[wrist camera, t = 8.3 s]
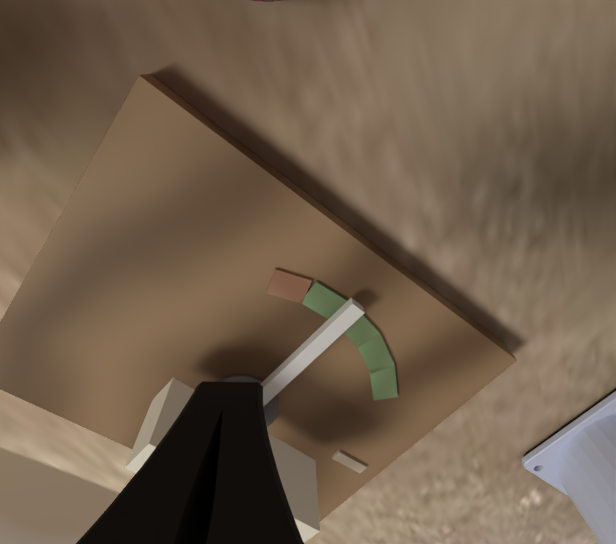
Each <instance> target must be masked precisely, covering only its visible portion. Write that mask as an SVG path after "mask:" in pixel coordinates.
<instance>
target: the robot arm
mask: <svg viewBox="0 0 616 544" xmlns="http://www.w3.org/2000/svg"><path fill="white" fill-rule="evenodd" d="M522 464H523V466H524V468H525V469H527V470H528V471H530V472H531V473H533V474H535V475H536V476H538V477H539V478H541V479H542V480H544V481H546V482H547V483H549V484H550V485H552V486H553V487H555V488H557V489H558V490H560V491H561V492H563V493H564V494H566V495H568V496H569V497H570V498H571V500H572V501H573V503H574V504H575V506H576V508H577V509H578V511H579V512H580V514H581V515H582V517H583V519H584V520H585V522H586V523H587V525H588V526H589V528H590V530H591V531H592V533H593V534H594V536H595V537H596V539H597V540H598V542H599V544H616V391H615V392H614V393H612V394H611V395H609V396H608V397H607V398H605V399H604V400H602V401H601V402H600V403H598V404H597V405H595V406H594V407H593V408H591V409H590V410H588V411H587V412H586V413H584V414H583V415H581V416H580V417H579V418H577V419H576V420H574V421H573V422H572V423H570V424H569V425H567V426H566V427H565V428H563V429H562V430H560V431H559V432H558V433H556V434H555V435H553V436H552V437H551V438H549V439H548V440H546V441H545V442H544V443H542V444H541V445H539V446H538V447H537V448H535V449H534V450H532V451H531V452H530V453H528V454H527V455H525V456H524V457H523V458H522ZM76 544H304V542H303V540H302V537H301V535H300V532H299V530H298V527H297V525H296V522H295V519H294V517H293V514H292V511H291V509H290V506H289V503H288V500H287V497H286V494H285V491H284V489H283V486H282V482H281V479H280V476H279V473H278V470H277V466H276V462H275V459H274V455H273V452H272V448H271V444H270V440H269V436H268V431H267V426H266V421H265V415H264V407H263V386H262V385H260V384H259V383H258V382H211V381H202V382H201V383H200V384H198V385H197V387H196V389H195V390H194V392H193V394H192V396H191V397H190V399H189V400H188V402H187V404H186V405H185V407H184V408H183V410H182V411H181V413H180V414H179V416H178V417H177V419H176V420H175V422H174V423H173V425H172V426H171V428H170V429H169V430H168V432H167V433H166V435H165V436H164V437H163V439H162V440H161V441H160V443H159V444H158V445H157V447H156V448H155V450H154V451H153V452H152V454H151V455H150V456H149V458H148V459H147V460H146V462H145V463H144V464H143V466H142V467H141V468H140V469H139V471H138V472H137V473H136V474H135V476H134V477H133V478H132V479H131V480H130V482H129V483H128V484H127V485H126V487H125V488H124V489H123V490H122V492H121V493H120V494H119V495H118V496H117V498H116V499H115V500H114V502H113V503H112V504H111V505H110V506H109V507H108V508H107V510H106V511H105V512H104V513H103V514H102V515H101V517H100V518H99V519H98V520H97V521H96V522H95V523H94V524H93V526H92V527H91V528H90V529H89V530H88V531H87V532H86V533H85V535H84V536H83V537H82V538H81V539H80V540H79V541H78V542H77V543H76Z"/></svg>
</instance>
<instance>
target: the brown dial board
mask: <svg viewBox="0 0 616 544" xmlns="http://www.w3.org/2000/svg"><path fill="white" fill-rule="evenodd" d="M350 298H353V299H354V300H355V301H356V302H358V303H359V304H360V305H361V306H363V308H364V312H365V313H364V314H363V315H362V316H361V317H360V318H359V319H358V320H357V321H356V322H355V323H353V324H352V325H351V326H350V327H349V328H348V329H347V330H346V331H345V332H344V333H343V334H342V335H340V336H339V337H338V338H337V339H336V340H335V341H334V342H333V343H332V344H331V345H330V346H329V347H327V348H326V349H325V350H324V351H323V352H322V353H321V354H320V355H319V356H318V357H317V358H316V359H314V360H313V361H312V362H311V363H310V364H309V365H308V366H307V367H306V368H305V369H304V370H303V371H302V372H300V373H299V374H298V375H297V376H296V377H295V378H294V379H293V380H292V381H291V382H290V383H289V384H287V385H286V386H285V387H284V388H283V389H282V390H281V391H280V392H279V393H278V394H277V395H276V396H274V397H273V398H272V399H271V400H270V401H269V402H268V403H267V404H266V405H265V408H266V426H267V431H268V433H269V434H271V435H272V436H274V437H276V438H278V439H279V440H281V441H283V442H284V443H286V444H288V445H290V446H291V447H293V448H295V449H296V450H298V451H300V452H302V453H303V454H305V455H307V456H308V457H310V458H312V459H314V460H315V461H316V478H317V494H318V511H319V522H320V521H321V520H322V519H323V518H325V517H326V516H327V515H328V514H330V513H331V512H332V511H333V510H334V509H336V508H337V507H338V506H339V505H341V504H342V503H343V502H344V501H345V500H347V499H348V498H349V497H350V496H352V495H353V494H354V493H355V492H356V491H358V490H359V489H360V488H361V487H363V486H364V485H365V484H366V483H367V482H369V481H370V480H371V479H372V478H374V477H375V476H376V475H377V474H378V473H380V472H381V471H382V470H383V469H385V468H386V467H387V466H388V465H389V464H391V463H392V462H393V461H394V460H396V459H397V458H398V457H399V456H400V455H402V454H403V453H404V452H405V451H407V450H408V449H409V448H410V447H412V446H413V445H414V444H415V443H416V442H418V441H419V440H420V439H421V438H423V437H424V436H425V435H426V434H427V433H429V432H430V431H431V430H432V429H434V428H435V427H436V426H437V425H438V424H440V423H441V422H442V421H443V420H445V419H446V418H447V417H448V416H449V415H451V414H452V413H453V412H454V411H456V410H457V409H458V408H459V407H460V406H462V405H463V404H464V403H465V402H467V401H468V400H469V399H470V398H471V397H473V396H474V395H475V394H476V393H478V392H479V391H480V390H481V389H482V388H484V387H485V386H486V385H487V384H489V383H490V382H491V381H492V380H493V379H495V378H496V377H497V376H498V375H500V374H501V373H502V372H503V371H505V370H506V369H507V368H508V367H509V366H511V365H512V364H513V363H514V362H516V361H517V360H516V358H515V357H514V356H513V354H512V353H511V352H510V350H509V349H508V348H507V346H506V345H505V344H503V343H502V342H501V341H500V340H498V339H497V338H496V337H494V336H493V335H492V334H490V333H489V332H488V331H486V330H485V329H484V328H482V327H481V326H480V325H479V324H477V323H476V322H475V321H473V320H472V319H471V318H469V317H468V316H467V315H465V314H464V313H463V312H461V311H460V310H459V309H457V308H456V307H455V306H454V305H452V304H451V303H450V302H448V301H447V300H446V299H444V298H443V297H442V296H440V295H439V294H438V293H436V292H435V291H434V290H433V289H431V288H430V287H429V286H427V285H426V284H425V283H423V282H422V281H421V280H419V279H418V278H417V277H415V276H414V275H413V274H412V273H410V272H409V271H408V270H406V269H405V268H404V267H402V266H401V265H400V264H398V263H397V262H396V261H394V260H393V259H392V258H391V257H389V256H388V255H387V254H385V253H384V252H383V251H381V250H380V249H379V248H377V247H376V246H375V245H373V244H372V243H371V242H370V241H368V240H367V239H366V238H364V237H363V236H362V235H360V234H359V233H358V232H356V231H355V230H354V229H352V228H351V227H350V226H348V225H347V224H346V223H345V222H343V221H342V220H341V219H339V218H338V217H337V216H335V215H334V214H333V213H331V212H330V211H329V210H327V209H326V208H325V207H324V206H322V205H321V204H320V203H318V202H317V201H316V200H314V199H313V198H312V197H310V196H309V195H308V194H306V193H305V192H304V191H303V190H301V189H300V188H299V187H297V186H296V185H295V184H293V183H292V182H291V181H289V180H288V179H287V178H285V177H284V176H283V175H282V174H280V173H279V172H278V171H276V170H275V169H274V168H272V167H271V166H270V165H268V164H267V163H266V162H264V161H263V160H262V159H261V158H259V157H258V156H257V155H255V154H254V153H253V152H251V151H250V150H249V149H247V148H246V147H245V146H243V145H242V144H241V143H239V142H238V141H237V140H236V139H234V138H233V137H232V136H230V135H229V134H228V133H226V132H225V131H224V130H222V129H221V128H220V127H218V126H217V125H216V124H215V123H213V122H212V121H211V120H209V119H208V118H207V117H205V116H204V115H203V114H201V113H200V112H199V111H197V110H196V109H195V108H194V107H192V106H191V105H190V104H188V103H187V102H186V101H184V100H183V99H182V98H180V97H179V96H178V95H176V94H175V93H174V92H173V91H171V90H170V89H169V88H167V87H166V86H165V85H163V84H162V83H161V82H159V81H158V80H157V79H155V78H154V77H153V76H152V75H150V74H146V75H139V76H138V78H137V80H136V81H135V83H134V85H133V87H132V89H131V90H130V92H129V94H128V96H127V97H126V99H125V101H124V103H123V105H122V106H121V108H120V110H119V112H118V113H117V115H116V117H115V119H114V121H113V122H112V124H111V126H110V128H109V130H108V131H107V133H106V135H105V137H104V138H103V140H102V142H101V144H100V146H99V147H98V149H97V151H96V153H95V154H94V156H93V158H92V160H91V162H90V163H89V165H88V167H87V169H86V170H85V172H84V174H83V176H82V178H81V179H80V181H79V183H78V185H77V187H76V188H75V190H74V192H73V194H72V195H71V197H70V199H69V201H68V203H67V204H66V206H65V208H64V210H63V211H62V213H61V215H60V217H59V219H58V220H57V222H56V224H55V226H54V227H53V229H52V231H51V233H50V235H49V236H48V238H47V240H46V242H45V244H44V245H43V247H42V249H41V251H40V252H39V254H38V256H37V258H36V260H35V261H34V263H33V265H32V267H31V268H30V270H29V272H28V274H27V276H26V277H25V279H24V281H23V283H22V285H21V286H20V288H19V290H18V292H17V293H16V295H15V297H14V299H13V301H12V302H11V304H10V306H9V308H8V309H7V311H6V313H5V315H4V317H3V318H2V320H1V322H0V389H1V390H3V391H5V392H8V393H10V394H12V395H14V396H16V397H19V398H21V399H23V400H25V401H27V402H30V403H32V404H34V405H36V406H38V407H41V408H43V409H45V410H47V411H49V412H52V413H54V414H56V415H58V416H60V417H63V418H65V419H67V420H69V421H71V422H74V423H76V424H78V425H80V426H82V427H85V428H87V429H89V430H91V431H93V432H96V433H98V434H100V435H102V436H104V437H107V438H109V439H111V440H113V441H115V442H118V443H120V444H122V445H124V446H126V447H129V448H131V449H133V446H134V444H135V442H136V439H137V437H138V434H139V432H140V429H141V427H142V424H143V422H144V419H145V417H146V415H147V412H148V410H149V407H150V405H151V402H152V400H153V399H154V398H155V397H156V396H157V394H158V393H159V392H160V391H161V390H162V389H163V388H164V387H165V386H166V385H167V384H168V383H169V382H170V381H171V379H172V378H175V379H177V380H178V381H180V382H182V383H184V384H185V385H187V386H189V387H190V388H192V389H194V390H195V389H196V387H197V385H198V384H200V383H201V382H202V381H211V382H258V383H259V384H261V383H262V382H263V381H264V380H265V379H266V378H267V377H268V376H269V375H270V374H272V373H273V372H274V371H275V370H276V369H277V368H278V367H279V366H280V365H281V364H282V363H283V362H284V361H285V360H286V359H287V358H288V357H289V356H290V355H291V354H292V353H293V352H295V351H296V350H297V349H298V348H299V347H300V346H301V345H302V344H303V343H304V342H305V341H306V340H307V339H308V338H309V337H310V336H311V335H312V334H313V333H314V332H315V331H317V330H318V329H319V328H320V327H321V326H322V325H323V324H324V323H325V322H326V321H327V320H328V319H329V318H330V317H331V316H332V315H333V314H334V313H335V312H336V311H337V310H339V309H340V308H341V307H342V306H343V305H344V304H345V303H346V302H347V301H348V300H349V299H350Z"/></svg>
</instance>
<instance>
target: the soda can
mask: <svg viewBox="0 0 616 544" xmlns="http://www.w3.org/2000/svg"><path fill="white" fill-rule="evenodd" d="M252 1H265V2H271V1H280V0H252Z"/></svg>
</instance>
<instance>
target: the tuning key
mask: <svg viewBox="0 0 616 544" xmlns="http://www.w3.org/2000/svg"><path fill="white" fill-rule="evenodd" d="M364 313H365V312H364V308H363V306H361V305H360V304H359V303H358V302H356V301H355V300H354V299H353V298H350V299H349V300H348V301H347V302H346V303H345V304H344V305H343V306H342V307H341V308H340V309H339V310H337V311H336V312H335V313H334V314H333V315H332V316H331V317H330V318H329V319H328V320H327V321H326V322H325V323H324V324H323V325H322V326H321V327H320V328H319V329H318V330H317V331H315V332H314V333H313V334H312V335H311V336H310V337H309V338H308V339H307V340H306V341H305V342H304V343H303V344H302V345H301V346H300V347H299V348H298V349H297V350H296V351H295V352H293V353H292V354H291V355H290V356H289V357H288V358H287V359H286V360H285V361H284V362H283V363H282V364H281V365H280V366H279V367H278V368H277V369H276V370H275V371H274V372H273V373H272V374H270V375H269V376H268V377H267V378H266V379H265V380H264V381H263V382H262V383H261V384H260V385H262V386H263V407H264V415H265V421H266V408H265V405H266V404H267V403H268V402H269V401H270V400H271V399H272V398H273V397H274V396H276V395H277V394H278V393H279V392H280V391H281V390H282V389H283V388H284V387H285V386H286V385H287V384H289V383H290V382H291V381H292V380H293V379H294V378H295V377H296V376H297V375H298V374H299V373H300V372H302V371H303V370H304V369H305V368H306V367H307V366H308V365H309V364H310V363H311V362H312V361H313V360H314V359H316V358H317V357H318V356H319V355H320V354H321V353H322V352H323V351H324V350H325V349H326V348H327V347H329V346H330V345H331V344H332V343H333V342H334V341H335V340H336V339H337V338H338V337H339V336H340V335H342V334H343V333H344V332H345V331H346V330H347V329H348V328H349V327H350V326H351V325H352V324H353V323H355V322H356V321H357V320H358V319H359V318H360V317H361V316H362V315H363V314H364ZM193 392H194V389H192V388H190V387H189V386H187V385H185V384H184V383H182V382H180V381H178V380H177V379H175V378H172V379H171V381H170V382H169V383H168V384H167V385H166V386H165V387H164V388H163V389H162V390H161V391H160V392H159V393H158V394H157V396H156V397H155V398H154V399H153V400H152V402H151V405H150V407H149V410H148V412H147V415H146V417H145V419H144V422H143V424H142V427H141V429H140V432H139V434H138V437H137V439H136V442H135V444H134V446H133V449H132V451H131V454H130V456H129V459H128V461H127V464H126V466H125V469H127V470H130V471H132V472H134V473H137V472H138V471H139V469H140V468H141V467H142V466H143V464H144V463H145V462H146V460H147V459H148V458H149V456H150V455H151V454H152V452H153V451H154V450H155V448H156V447H157V445H158V444H159V443H160V441H161V440H162V439H163V437H164V436H165V435H166V433H167V432H168V430H169V429H170V428H171V426H172V425H173V423H174V422H175V420H176V419H177V417H178V416H179V414H180V413H181V411H182V410H183V408H184V407H185V405H186V404H187V402H188V400H189V399H190V397H191V396H192V394H193ZM268 436H269V440H270V444H271V448H272V452H273V455H274V459H275V462H276V466H277V470H278V473H279V476H280V479H281V482H282V486H283V489H284V491H285V494H286V497H287V500H288V503H289V506H290V509H291V511H292V514H293V517H294V519H295V522H296V525H297V527H298V530H299V532H300V535H301V537H302V540H303V542H306V541H307V540H309V539H310V538H311V537H313V536H314V535H315V534H317V533H318V532H320V527H319V511H318V494H317V478H316V461H315V460H314V459H312V458H310V457H308V456H307V455H305V454H303V453H302V452H300V451H298V450H296V449H295V448H293V447H291V446H290V445H288V444H286V443H284V442H283V441H281V440H279V439H278V438H276V437H274V436H272V435H271V434H269V433H268Z"/></svg>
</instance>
